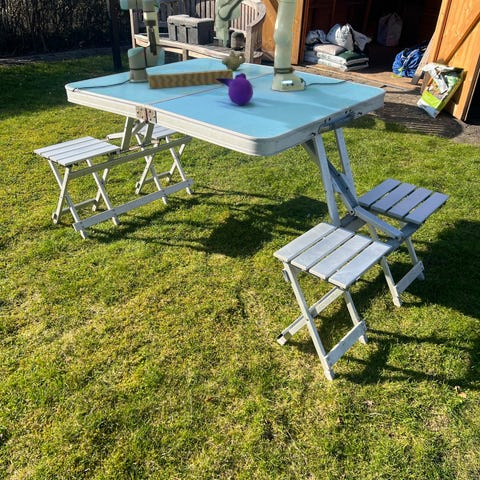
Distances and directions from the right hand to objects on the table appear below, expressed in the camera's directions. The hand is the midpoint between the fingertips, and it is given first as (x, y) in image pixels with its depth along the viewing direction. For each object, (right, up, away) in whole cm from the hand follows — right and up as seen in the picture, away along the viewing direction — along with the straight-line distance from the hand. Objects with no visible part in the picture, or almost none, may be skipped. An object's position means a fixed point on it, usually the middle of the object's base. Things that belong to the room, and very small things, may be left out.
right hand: (222, 46), depth 317 cm
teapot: (+7, +3, +55) cm, 55 cm away
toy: (+10, -53, -41) cm, 68 cm away
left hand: (-47, -10, -11) cm, 49 cm away
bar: (-23, -25, +6) cm, 35 cm away
